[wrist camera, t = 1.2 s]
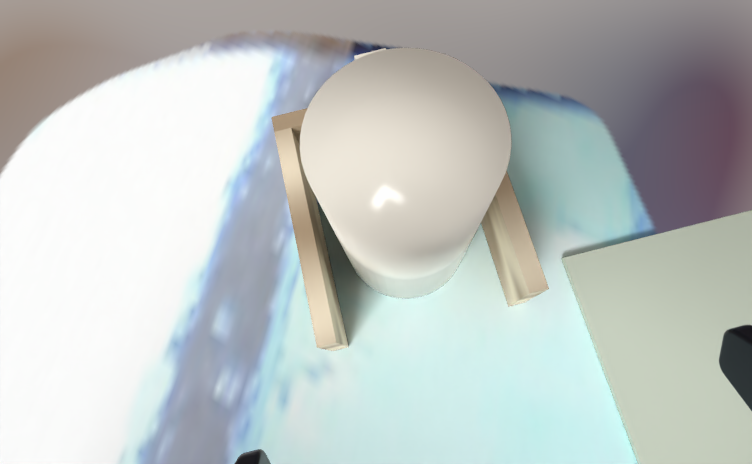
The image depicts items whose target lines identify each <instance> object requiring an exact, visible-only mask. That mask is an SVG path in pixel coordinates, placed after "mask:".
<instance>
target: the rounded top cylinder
mask: <svg viewBox="0 0 752 464" xmlns="http://www.w3.org/2000/svg"><path fill="white" fill-rule="evenodd" d="M354 58H355V60H354V61H352V62H351V63H349V64H347V65H346V66H344V67H342V68H341V69H340V70H338V71H337V72H336V73H334V74H333V75H332V76H331V77H330V78H329V79H328V80H327V81H326V82H325V83H324V84H323V85H322V87H321V88H320V89H319V90H318V91H317V93H316V94H315V96H314V98H313V99H312V101H311V102H310V104H309V107H308V109H307V111H306V113H305V116H304V120H303V123H302V127H301V134H300V155H301V162H302V166H303V169H304V173H305V176H306V178H307V180H308V182H309V184H310V186H311V188H312V190H313V192H314V194H315V196H316V198H317V200H318V202H319V204H320V205H321V207H322V209H323V211H324V213H325V215H326V217H327V219H328V221H329V222H330V224H331V226H332V228H333V230H334V232H335V234H336V236H337V238H338V240H339V241H340V243H341V245H342V247H343V249H344V251H345V253H346V255H347V257H348V259H349V260H350V262H351V264H352V266H353V268H354V270H355V271H356V273H357V274H358V276H359V277H360V278H361V279H362V280H363V281H364V282H365V283H366V284H367V285H368V286H369V287H371V288H372V289H374V290H375V291H377V292H379V293H381V294H384V295H386V296H389V297H394V298H402V299H409V298H417V297H422V296H425V295H428V294H430V293H432V292H434V291H436V290H438V289H439V288H441V287H442V286H443V285H444V284H445V283H447V282H448V281H449V280H450V278H451V277H452V276H453V275H454V273H455V272H456V270H457V268H458V266H459V264H460V263H461V261H462V259H463V257H464V255H465V253H466V251H467V249H468V247H469V245H470V243H471V241H472V239H473V237H474V235H475V233H476V231H477V229H478V227H479V225H480V223H481V221H482V219H483V217H484V215H485V213H486V211H487V209H488V207H489V206H490V204H491V202H492V200H493V198H494V196H495V194H496V192H497V190H498V188H499V186H500V184H501V182H502V180H503V178H504V175H505V173H506V170H507V167H508V164H509V160H510V153H511V130H510V123H509V120H508V116H507V113H506V110H505V108H504V106H503V104H502V101H501V99H500V98H499V96H498V95H497V93H496V92H495V90H494V89H493V87H492V86H491V85H490V84H489V83H488V82H487V80H486V79H485V78H483V77H482V76H481V75H480V74H479V73H478V72H477V71H475V70H474V69H472V68H471V67H470V66H468V65H467V64H465V63H463V62H461V61H460V60H458V59H456V58H454V57H451V56H448V55H446V54H443V53H440V52H436V51H432V50H427V49H420V48H395V49H388V50H386V48H384V49H380V50H376V51H372V52H368V53H364V54H360V55H356V56H354Z"/></svg>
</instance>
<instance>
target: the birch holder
mask: <svg viewBox="0 0 752 464" xmlns="http://www.w3.org/2000/svg"><path fill="white" fill-rule="evenodd" d="M307 109H308V108H306V109H302V110H298V111H294V112H290V113H286V114H282V115H278V116H274V117H272V122H273V127H274V132H275V137H276V142H277V147H278V152H279V157H280V162H281V167H282V173H283V178H284V183H285V188H286V193H287V198H288V203H289V208H290V213H291V218H292V223H293V228H294V233H295V238H296V243H297V248H298V253H299V258H300V264H301V269H302V274H303V279H304V284H305V289H306V294H307V299H308V304H309V309H310V314H311V319H312V324H313V329H314V334H315V339H316V344H317V348H321V349H326V350H330V351H335V350H339V349H343V348H347V347H348V342H347V337H346V333H345V328H344V324H343V319H342V314H341V310H340V305H339V301H338V296H337V291H336V287H335V282H334V278H333V273H332V269H331V264H330V259H329V255H328V250H327V246H326V241H325V236H324V232H323V227H322V223H321V218H320V213H319V209H318V204H317V200H316V196H315V194H314V192H313V190H312V188H311V186H310V184H309V182H308V180H307V178H306V176H305V173H304V169H303V166H302V162H301V155H300V134H301V127H302V123H303V120H304V116H305V113H306V111H307ZM481 224H482V227H483V230H484V233H485V236H486V239H487V242H488V245H489V249H490V252H491V255H492V258H493V261H494V264H495V267H496V270H497V273H498V276H499V279H500V282H501V285H502V288H503V291H504V294H505V297H506V300H507V303H508V306H513V305H517V304H521V303H524V302H526V301H528V300H530V299H532V298H533V297H535V296H537V295H539V294H541V293H542V292H544V291H546V290H548V289H549V287H548V285H547V282H546V279H545V276H544V274H543V271H542V268H541V265H540V262H539V260H538V257H537V254H536V251H535V248H534V246H533V243H532V240H531V237H530V235H529V232H528V229H527V226H526V223H525V221H524V218H523V215H522V212H521V209H520V207H519V204H518V201H517V198H516V196H515V193H514V190H513V187H512V184H511V182H510V179H509V176H508V173H507V170H506V173H505V175H504V178H503V180H502V182H501V184H500V186H499V188H498V190H497V192H496V194H495V196H494V198H493V200H492V202H491V204H490V206H489V207H488V209H487V211H486V213H485V215H484V217H483V219H482V221H481Z"/></svg>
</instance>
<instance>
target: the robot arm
mask: <svg viewBox="0 0 752 464" xmlns="http://www.w3.org/2000/svg"><path fill="white" fill-rule="evenodd" d="M719 365H720V368H721V370H722V372H723V374H724V375H725V377H726V378H727V379H728V381H729V382H730V383H731V385H732V386H733V387H734V389H735V390H736V391H737V393H738V394H739V395H740V397H741V398H742V399H743V401H744V402H745V403H746V405H747V406H748V407H749V409H750V410H751V411H752V325H742V326H739V327H735V328H731V329H728V330H726V331H725V333H724V335H723V340H722V345H721V350H720V355H719ZM235 464H271V463H270V461H269V459H268V457H267V455H266V453H265V452H264V451H263V450H261V449H258V450H254V451H250V452H246V453H243V454H242V455H240V456H239V457H238V459H237V461H236V462H235Z"/></svg>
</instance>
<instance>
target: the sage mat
mask: <svg viewBox="0 0 752 464" xmlns="http://www.w3.org/2000/svg"><path fill="white" fill-rule="evenodd" d="M562 262H563V264H564V267H565V270H566V272H567V275H568V278H569V280H570V283H571V286H572V288H573V291H574V294H575V296H576V299H577V302H578V304H579V307H580V310H581V312H582V315H583V318H584V320H585V323H586V326H587V328H588V331H589V334H590V336H591V339H592V342H593V344H594V347H595V350H596V352H597V355H598V358H599V360H600V363H601V366H602V368H603V371H604V374H605V377H606V379H607V382H608V385H609V387H610V390H611V393H612V395H613V398H614V401H615V403H616V406H617V409H618V411H619V414H620V417H621V419H622V422H623V425H624V427H625V430H626V433H627V435H628V438H629V441H630V443H631V446H632V449H633V451H634V454H635V457H636V459H637V462H638V464H752V411H751V410H750V409H749V407H748V406H747V405H746V403H745V402H744V401H743V399H742V398H741V397H740V395H739V394H738V393H737V391H736V390H735V389H734V387H733V386H732V385H731V383H730V382H729V381H728V379H727V378H726V377H725V375H724V374H723V372H722V370H721V368H720V365H719V355H720V350H721V345H722V340H723V335H724V333H725V331H726V330H728V329H731V328H735V327H739V326H742V325H752V210H750V211H746V212H742V213H738V214H734V215H730V216H726V217H722V218H719V219H715V220H711V221H707V222H703V223H699V224H695V225H691V226H687V227H683V228H679V229H675V230H671V231H667V232H663V233H659V234H655V235H651V236H647V237H643V238H639V239H635V240H631V241H628V242H624V243H620V244H616V245H612V246H608V247H604V248H600V249H596V250H592V251H588V252H584V253H580V254H576V255H572V256H568V257H564V258H562Z"/></svg>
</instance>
